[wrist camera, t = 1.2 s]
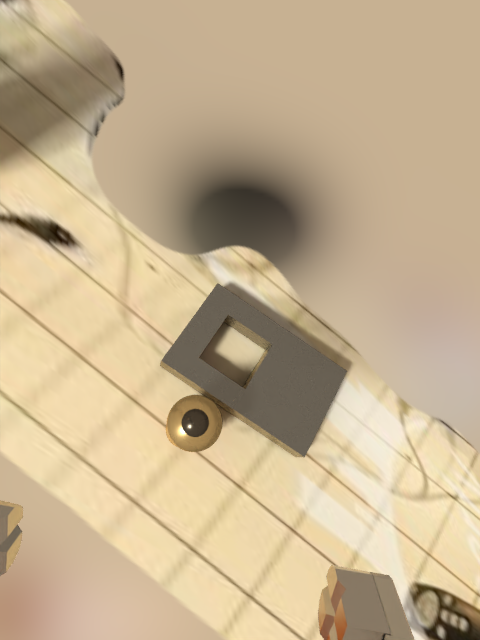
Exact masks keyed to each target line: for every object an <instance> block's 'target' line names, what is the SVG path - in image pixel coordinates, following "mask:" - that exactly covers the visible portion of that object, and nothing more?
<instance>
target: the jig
mask: <svg viewBox="0 0 480 640" xmlns="http://www.w3.org/2000/svg"><path fill="white" fill-rule="evenodd" d="M223 322H225V323H227V324H228V325H230V326H231V327H233V328H234V329H236V330H237V331H238V332H240V333H241V334H243V335H244V336H246V337H247V338H249V339H250V340H252V341H253V342H255V343H256V344H258V345H259V346H261V347H262V348H264V349H265V352H264V354H263V355H262V357H261V359H260V360H259V362H258V363H257V365H256V367H255V368H254V370H253V372H252V373H251V375H250V377H249V378H248V380H247V382H246V383H245V385H244V386H243V387H241V386H240V385H239V384H237V383H236V382H234V381H233V380H231V379H230V378H228V377H227V376H225V375H224V374H222V373H221V372H219V371H218V370H216V369H215V368H213V367H212V366H210V365H209V364H207V363H206V362H204V361H203V360H201V359H200V358H199V357H200V355H201V354H202V352H203V351H204V349H205V348H206V347H207V345H208V344H209V342H210V341H211V339H212V338H213V336H214V335H215V333H216V332H217V330H218V329H219V328H220V326H221V325H222V323H223ZM160 366H161V367H163V368H164V369H166V370H167V371H169V372H170V373H171V374H173V375H174V376H176V377H177V378H179V379H180V380H182V381H183V382H185V383H186V384H188V385H189V386H191V387H192V388H194V389H195V390H197V391H198V392H200V393H201V394H203V395H204V396H206V397H207V398H209V399H210V400H212V401H213V402H215V403H216V404H218V405H219V406H221V407H222V408H224V409H225V410H227V411H228V412H230V413H231V414H233V415H234V416H236V417H237V418H238V419H240V420H241V421H243V422H244V423H246V424H247V425H249V426H250V427H252V428H253V429H255V430H256V431H258V432H259V433H261V434H262V435H264V436H265V437H267V438H268V439H270V440H271V441H273V442H274V443H276V444H277V445H279V446H280V447H282V448H283V449H285V450H286V451H288V452H289V453H291V454H292V455H294V456H295V457H305V455H306V453H307V451H308V449H309V447H310V445H311V443H312V441H313V439H314V437H315V435H316V433H317V431H318V429H319V427H320V425H321V423H322V421H323V419H324V417H325V415H326V413H327V411H328V409H329V407H330V405H331V403H332V401H333V398H334V396H335V394H336V392H337V390H338V388H339V386H340V384H341V382H342V380H343V378H344V376H345V374H346V372H347V371H346V370H345V369H343V368H342V367H340V366H339V365H337V364H336V363H334V362H333V361H331V360H330V359H328V358H327V357H325V356H324V355H323V354H321V353H320V352H318V351H317V350H315V349H314V348H312V347H311V346H309V345H308V344H306V343H305V342H303V341H302V340H301V339H299V338H298V337H296V336H295V335H293V334H292V333H290V332H289V331H287V330H286V329H284V328H283V327H281V326H280V325H278V324H277V323H276V322H274V321H273V320H271V319H270V318H268V317H267V316H265V315H264V314H262V313H261V312H259V311H258V310H256V309H255V308H254V307H252V306H251V305H249V304H248V303H246V302H245V301H243V300H242V299H240V298H239V297H237V296H236V295H234V294H233V293H231V292H230V291H229V290H227V289H226V288H224V287H223V286H221V285H220V284H217V285H216V286H215V288H214V289H213V290H212V292H211V293H210V295H209V296H208V297H207V299H206V300H205V301H204V303H203V304H202V306H201V307H200V308H199V310H198V311H197V312H196V314H195V315H194V317H193V318H192V319H191V321H190V322H189V323H188V325H187V326H186V328H185V329H184V330H183V332H182V333H181V334H180V336H179V337H178V339H177V340H176V341H175V343H174V344H173V345H172V347H171V348H170V350H169V351H168V352H167V354H166V355H165V357H164V358H163V359H162V361H161V364H160Z"/></svg>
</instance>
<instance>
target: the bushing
mask: <svg viewBox="0 0 480 640" xmlns="http://www.w3.org/2000/svg"><path fill="white" fill-rule="evenodd" d="M221 429H222V416H221V413H220V411H219V409H218V407H217V406H216V404H215V403H214V402H213V401H211V400H210V399H208V398H206V397H204V396H200V395H191V396H187V397H184V398H182V399H181V400H179V401H178V402H177V403H176V404H175V405H174V406H173V407H172V409H171V410H170V412H169V415H168V418H167V424H166V434H167V437H168V439H169V441H170V442H171V443H172V444H173V445H175V446H177V447H179V448H180V449H182V450H185V451H189V452H198V451H202V450H205V449H207V448H209V447H210V446H212V445H213V444H214V443H215V442H216V440H217V439H218V437H219V435H220V433H221Z"/></svg>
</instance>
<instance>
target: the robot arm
mask: <svg viewBox="0 0 480 640" xmlns="http://www.w3.org/2000/svg"><path fill="white" fill-rule="evenodd" d="M22 518H23V507H22V506H21V505H18V504H14V503H9V502H5V501H0V576H1V575H2V574H4V573H6V572H7V570H8V569H9V567H10V566H11V564H12V563H13V561H14V559H15V557H16V555H17V553H18V551H19V548H20V544H21V539H22V531H21V529H20V528H19V526H18V525H17V524H18V523H19V522H20V520H21V519H22ZM327 582H328V586H327V587H326V588H324V589H323V590H322V593H321V596H320V600H319V610H318V620H319V630H320V634H321V636H322V637H323V638H324V640H414V637H413V635H412V632H411V629H410V626H409V624H408V621H407V618H406V615H405V613H404V610H403V607H402V604H401V602H400V599H399V596H398V594H397V591H396V588H395V585H394V583H393V580H392V578H391V577H390V576H389V575H383V574H378V573H372V572H367V571H361V570H356V569H350V568H345V567H339V566H334V565H331V567H330V568H329V570H328V573H327Z"/></svg>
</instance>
